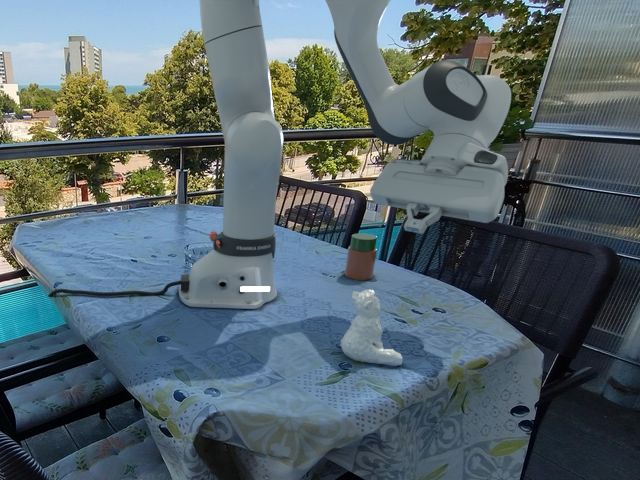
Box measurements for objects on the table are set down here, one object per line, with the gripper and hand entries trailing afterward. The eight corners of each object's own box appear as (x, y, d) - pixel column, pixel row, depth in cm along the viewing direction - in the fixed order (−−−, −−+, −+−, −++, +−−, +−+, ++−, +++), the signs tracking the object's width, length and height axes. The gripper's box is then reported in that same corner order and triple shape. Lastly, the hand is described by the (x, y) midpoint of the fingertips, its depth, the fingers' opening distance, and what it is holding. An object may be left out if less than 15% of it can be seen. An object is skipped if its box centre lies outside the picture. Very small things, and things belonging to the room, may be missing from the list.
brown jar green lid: (351, 280, 112) (356, 240, 108) (340, 271, 118) (345, 233, 114) (377, 279, 113) (383, 239, 109) (365, 270, 118) (371, 232, 115)
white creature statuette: (404, 367, 76) (418, 300, 71) (354, 372, 75) (365, 304, 71) (374, 340, 85) (384, 278, 80) (328, 344, 84) (336, 282, 79)
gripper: (386, 147, 86) (351, 209, 84) (517, 158, 71) (477, 233, 70) (393, 168, 90) (360, 227, 89) (518, 183, 76) (480, 254, 74)
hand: (412, 230), depth 79 cm, fingers closed
